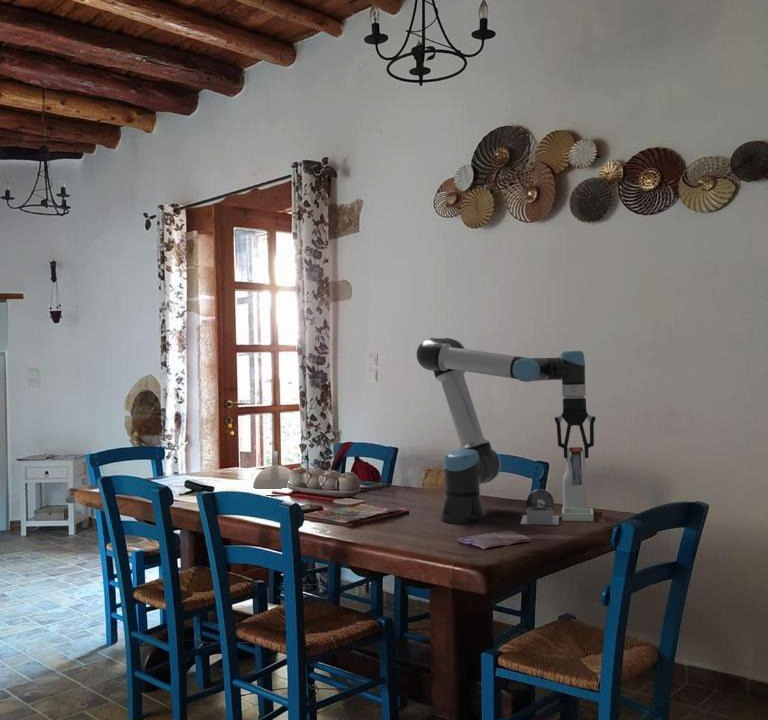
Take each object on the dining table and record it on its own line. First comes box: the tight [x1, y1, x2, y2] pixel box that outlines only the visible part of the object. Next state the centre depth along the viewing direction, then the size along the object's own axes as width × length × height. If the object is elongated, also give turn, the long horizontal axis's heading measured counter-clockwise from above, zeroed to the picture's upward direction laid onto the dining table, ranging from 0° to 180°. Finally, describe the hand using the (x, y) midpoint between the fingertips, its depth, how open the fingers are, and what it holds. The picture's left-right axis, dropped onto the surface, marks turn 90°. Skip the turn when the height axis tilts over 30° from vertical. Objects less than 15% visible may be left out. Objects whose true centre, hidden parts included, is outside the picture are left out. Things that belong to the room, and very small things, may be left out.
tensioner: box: [520, 488, 560, 526], centre depth 263 cm, size 12×15×10 cm
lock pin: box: [568, 446, 583, 485], centre depth 265 cm, size 4×4×12 cm
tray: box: [561, 507, 594, 522], centre depth 265 cm, size 10×10×4 cm
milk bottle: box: [562, 455, 587, 508], centre depth 278 cm, size 8×8×20 cm
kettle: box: [252, 450, 292, 489], centre depth 346 cm, size 20×21×18 cm
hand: (576, 468), depth 265 cm, fingers closed on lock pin, 4 cm apart
